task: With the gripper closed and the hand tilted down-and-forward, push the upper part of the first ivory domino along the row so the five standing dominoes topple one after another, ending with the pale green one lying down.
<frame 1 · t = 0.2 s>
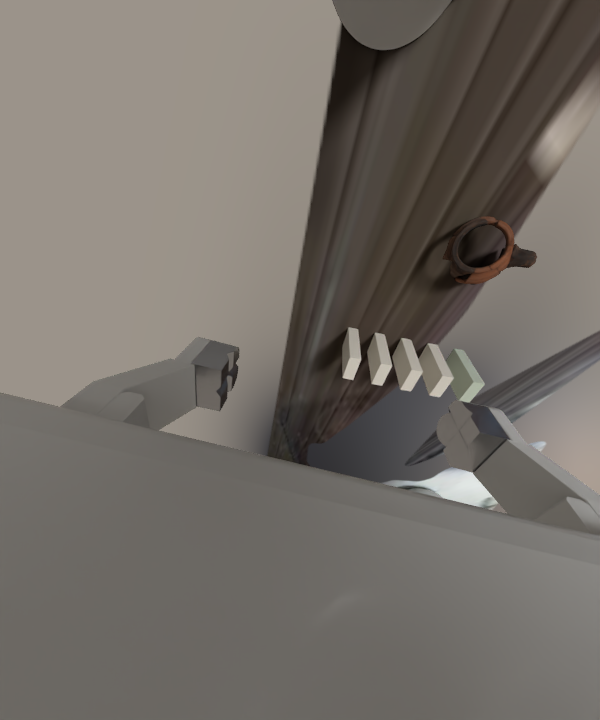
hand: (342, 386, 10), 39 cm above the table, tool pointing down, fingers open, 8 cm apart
domino 2: (375, 343, 54), on the table
cereal bowl: (416, 492, 91), on the table
domino 4: (426, 353, 54), on the table
domino 5: (452, 358, 54), on the table
domino 1: (349, 338, 54), on the table
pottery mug: (477, 249, 41), on the table
domino 3: (401, 348, 54), on the table
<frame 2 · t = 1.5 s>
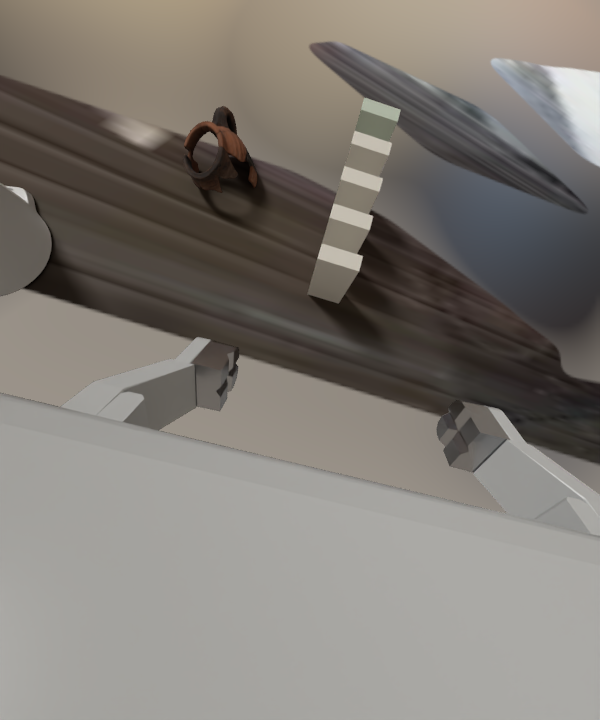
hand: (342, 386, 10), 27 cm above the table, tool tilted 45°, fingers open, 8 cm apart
domino 2: (333, 261, 41), on the table
domino 4: (349, 202, 43), on the table
domino 5: (357, 175, 44), on the table
domino 1: (324, 293, 40), on the table
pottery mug: (226, 174, 42), on the table
domino 3: (341, 231, 42), on the table
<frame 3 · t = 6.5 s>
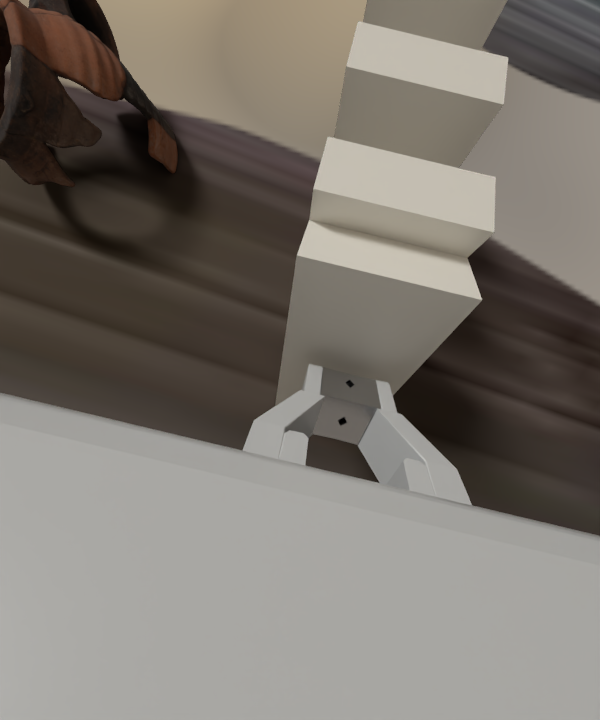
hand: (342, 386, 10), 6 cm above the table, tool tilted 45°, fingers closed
domino 2: (336, 324, 17), on the table, touching domino 1
domino 4: (366, 186, 19), on the table
domino 1: (319, 406, 15), on the table, tilted 25°, touching domino 2
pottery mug: (113, 150, 19), on the table
domino 3: (351, 251, 18), on the table
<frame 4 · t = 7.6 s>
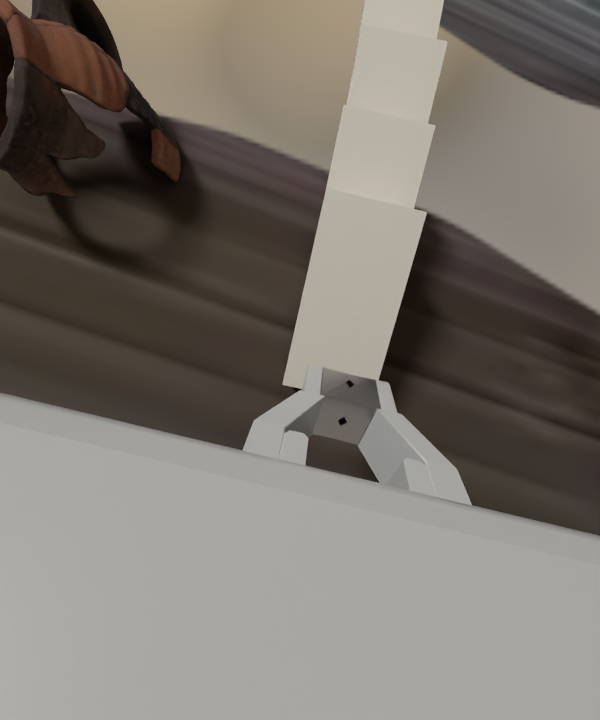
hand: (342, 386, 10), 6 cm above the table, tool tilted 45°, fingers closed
domino 2: (342, 304, 16), point 1 cm above the table, tilted 70°, touching domino 1
domino 4: (375, 152, 18), point 1 cm above the table, tilted 73°, touching domino 3
domino 1: (325, 389, 15), point 1 cm above the table, tilted 69°, touching domino 2
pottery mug: (115, 158, 19), on the table
domino 3: (361, 223, 17), point 1 cm above the table, tilted 70°, touching domino 4
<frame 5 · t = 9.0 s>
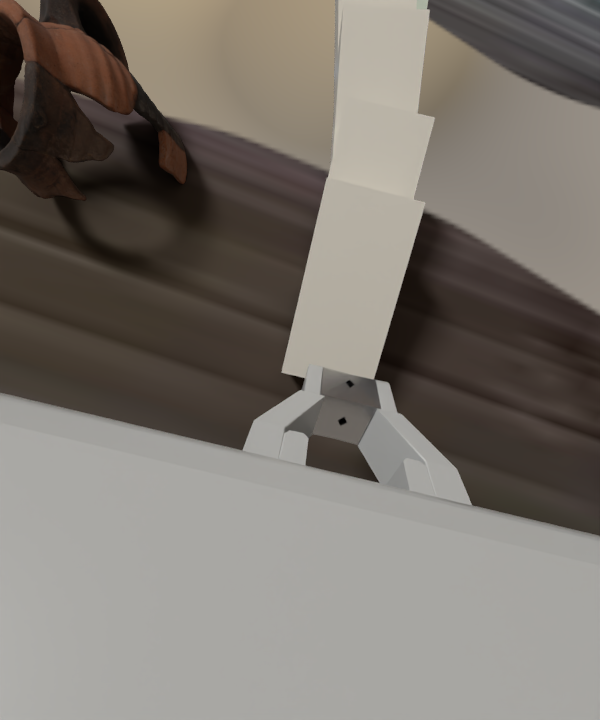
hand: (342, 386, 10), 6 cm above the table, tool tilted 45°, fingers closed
domino 2: (343, 293, 16), point 1 cm above the table, tilted 71°, touching domino 1, domino 3
domino 4: (370, 121, 19), point 1 cm above the table, tilted 70°, touching domino 3
domino 1: (324, 378, 15), point 1 cm above the table, tilted 70°, touching domino 2
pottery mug: (121, 160, 19), on the table
domino 3: (365, 202, 18), point 1 cm above the table, tilted 70°, touching domino 2, domino 4
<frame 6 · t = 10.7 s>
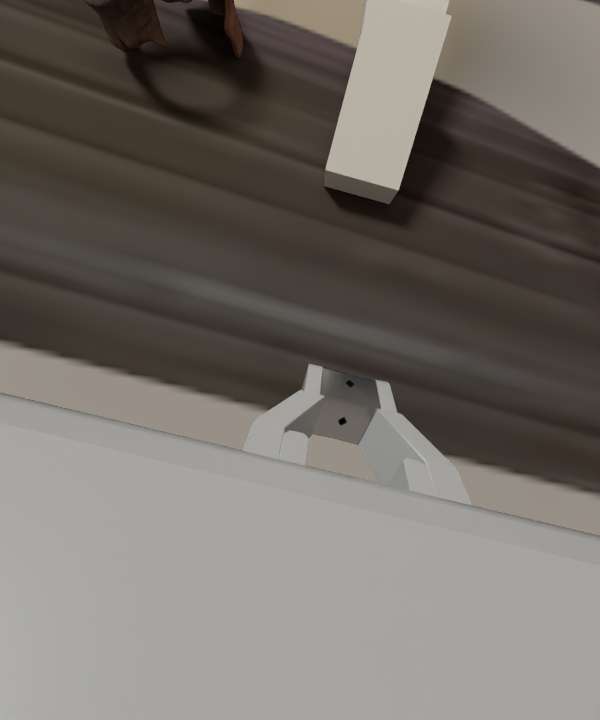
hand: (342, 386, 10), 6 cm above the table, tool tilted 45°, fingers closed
domino 2: (376, 124, 19), point 1 cm above the table, tilted 73°, touching domino 1, domino 3
domino 1: (359, 188, 18), point 1 cm above the table, tilted 71°, touching domino 2
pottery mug: (183, 40, 21), on the table
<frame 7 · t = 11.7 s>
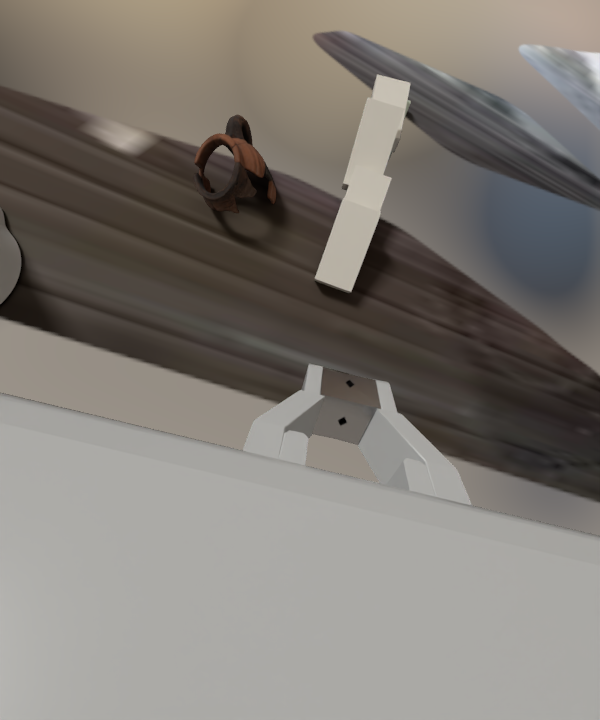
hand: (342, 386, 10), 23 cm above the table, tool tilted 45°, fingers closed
domino 2: (346, 248, 35), point 1 cm above the table, tilted 76°, touching domino 1
domino 4: (380, 141, 37), point 2 cm above the table, tilted 90°, touching domino 3, domino 5
domino 1: (332, 286, 34), point 1 cm above the table, tilted 71°, touching domino 2
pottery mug: (241, 190, 37), on the table
domino 3: (359, 191, 37), point 1 cm above the table, tilted 65°, touching domino 4
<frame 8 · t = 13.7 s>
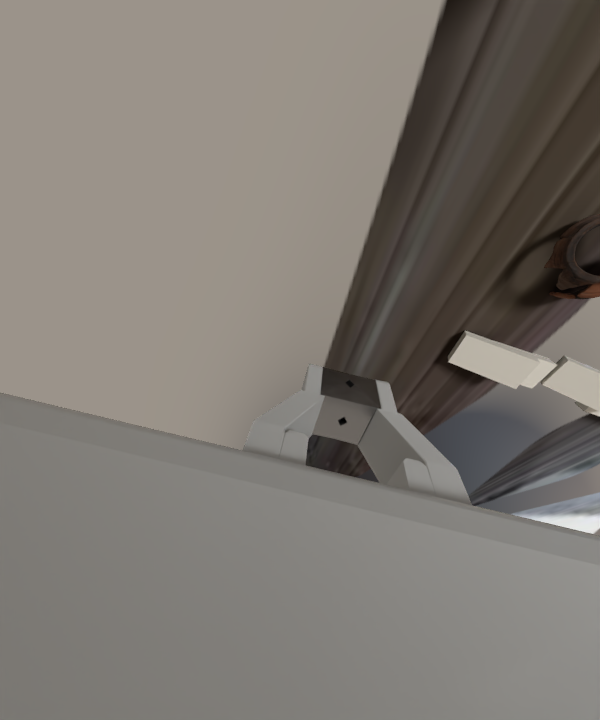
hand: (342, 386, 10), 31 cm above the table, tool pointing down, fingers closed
domino 2: (483, 354, 41), on the table, tilted 90°, touching domino 1
domino 4: (593, 396, 41), point 2 cm above the table, tilted 90°, touching domino 3, domino 5
domino 1: (456, 346, 40), point 1 cm above the table, tilted 73°, touching domino 2
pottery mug: (583, 257, 33), on the table
domino 3: (553, 370, 41), point 1 cm above the table, tilted 67°, touching domino 4
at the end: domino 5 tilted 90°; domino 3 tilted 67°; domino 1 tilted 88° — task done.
